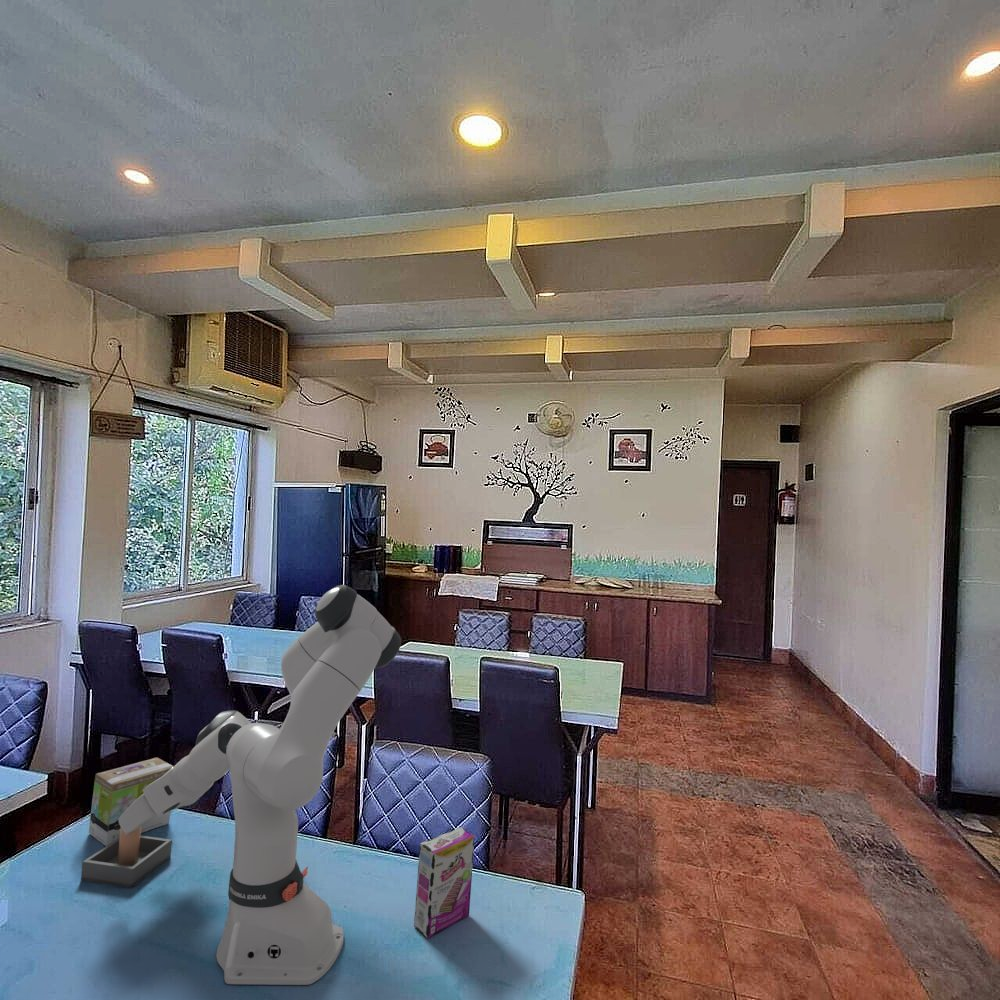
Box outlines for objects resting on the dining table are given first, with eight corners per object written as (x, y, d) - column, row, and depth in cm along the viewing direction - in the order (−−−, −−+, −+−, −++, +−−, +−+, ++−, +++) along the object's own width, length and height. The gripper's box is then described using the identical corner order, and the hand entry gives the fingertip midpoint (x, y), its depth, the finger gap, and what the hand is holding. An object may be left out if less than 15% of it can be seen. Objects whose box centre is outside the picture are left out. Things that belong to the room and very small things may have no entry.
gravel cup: (142, 860, 131) (146, 820, 131) (128, 870, 127) (132, 828, 127) (126, 858, 131) (130, 817, 132) (112, 868, 127) (116, 826, 128)
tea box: (106, 848, 136) (112, 784, 137) (87, 834, 142) (93, 773, 143) (171, 823, 149) (176, 765, 150) (151, 811, 154) (156, 755, 155)
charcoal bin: (170, 857, 134) (172, 839, 134) (131, 888, 122) (132, 869, 122) (124, 850, 136) (125, 833, 136) (80, 880, 124) (82, 861, 124)
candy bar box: (428, 940, 111) (433, 853, 112) (413, 927, 115) (418, 842, 116) (471, 916, 119) (475, 834, 120) (455, 904, 123) (460, 825, 124)
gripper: (213, 753, 136) (175, 789, 138) (139, 789, 116) (96, 830, 118) (227, 776, 135) (188, 811, 137) (155, 815, 115) (111, 856, 117)
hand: (145, 820), depth 127 cm, fingers open, 8 cm apart
